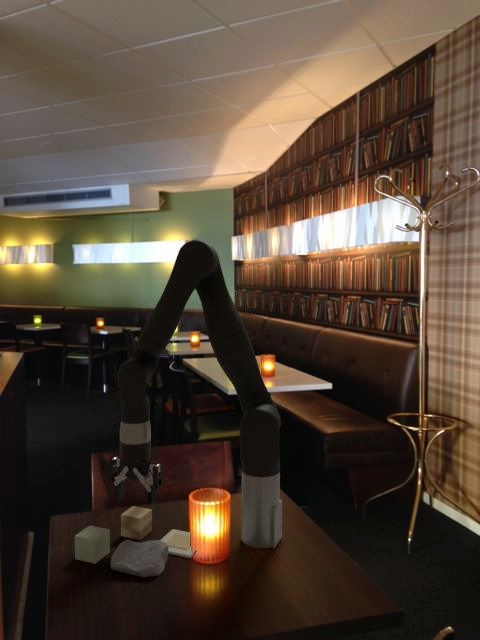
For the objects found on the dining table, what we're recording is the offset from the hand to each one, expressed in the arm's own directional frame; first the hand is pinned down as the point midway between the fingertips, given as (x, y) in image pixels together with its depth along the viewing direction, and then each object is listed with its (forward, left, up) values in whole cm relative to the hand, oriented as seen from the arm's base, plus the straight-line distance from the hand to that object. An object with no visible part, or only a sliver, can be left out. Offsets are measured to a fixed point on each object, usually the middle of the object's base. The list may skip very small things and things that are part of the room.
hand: (134, 502), depth 131 cm
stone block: (-9, +13, -8) cm, 18 cm away
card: (-13, +1, -8) cm, 16 cm away
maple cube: (0, 0, -8) cm, 8 cm away
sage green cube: (+3, +13, -8) cm, 16 cm away
